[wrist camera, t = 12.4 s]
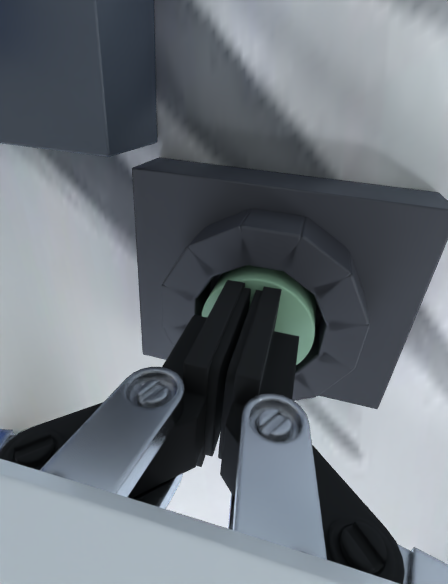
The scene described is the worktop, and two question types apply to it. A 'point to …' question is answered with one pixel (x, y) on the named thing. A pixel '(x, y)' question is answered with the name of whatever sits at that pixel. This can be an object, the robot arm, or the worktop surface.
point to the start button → (292, 307)
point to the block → (291, 260)
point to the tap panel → (78, 75)
